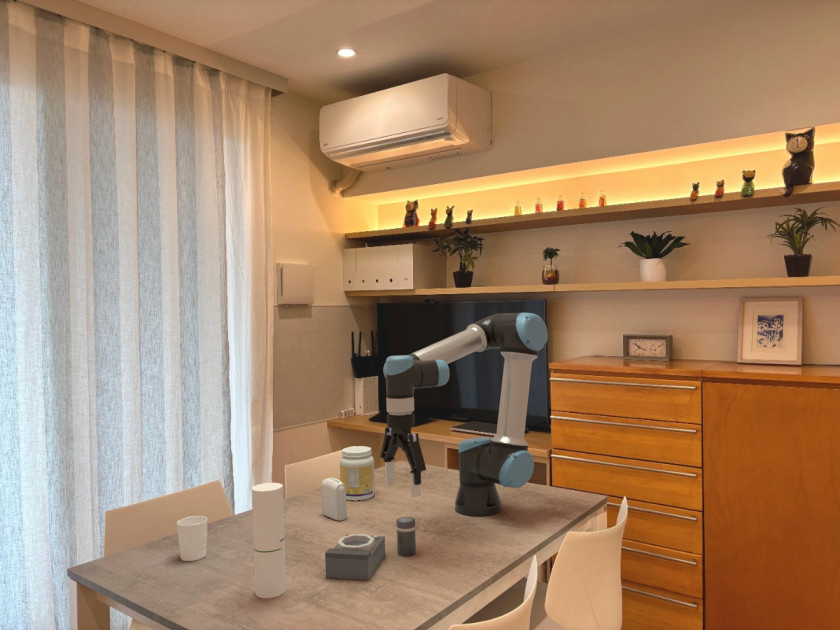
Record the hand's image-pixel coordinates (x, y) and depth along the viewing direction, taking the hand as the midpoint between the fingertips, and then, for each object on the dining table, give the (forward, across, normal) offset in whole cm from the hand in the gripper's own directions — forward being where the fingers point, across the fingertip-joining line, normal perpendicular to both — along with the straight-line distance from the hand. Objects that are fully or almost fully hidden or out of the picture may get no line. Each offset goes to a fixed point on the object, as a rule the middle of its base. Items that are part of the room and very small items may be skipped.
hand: (402, 490), depth 170 cm
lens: (+17, -1, 0) cm, 17 cm away
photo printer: (+17, +39, +3) cm, 43 cm away
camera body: (+17, 0, +15) cm, 22 cm away
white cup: (+17, +33, +48) cm, 61 cm away
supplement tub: (+17, +54, -13) cm, 58 cm away
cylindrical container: (+17, -1, +38) cm, 42 cm away
